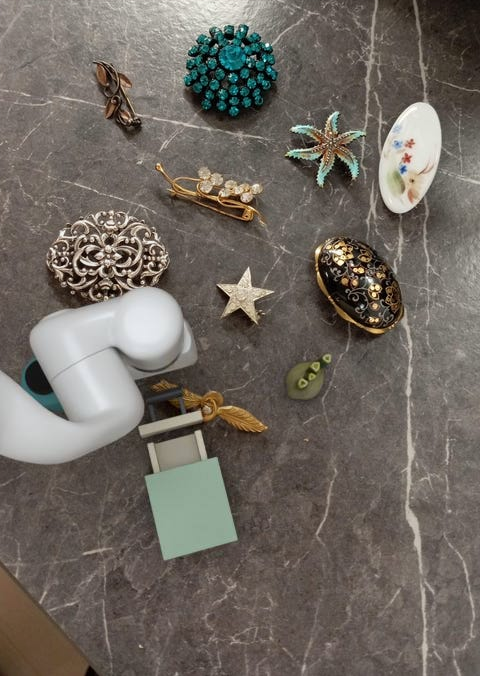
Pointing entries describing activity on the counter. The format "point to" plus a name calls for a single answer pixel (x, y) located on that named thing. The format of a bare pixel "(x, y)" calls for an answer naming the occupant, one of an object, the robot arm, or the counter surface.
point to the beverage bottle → (39, 386)
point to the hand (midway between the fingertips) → (156, 359)
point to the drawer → (178, 448)
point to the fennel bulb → (306, 378)
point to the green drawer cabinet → (190, 508)
